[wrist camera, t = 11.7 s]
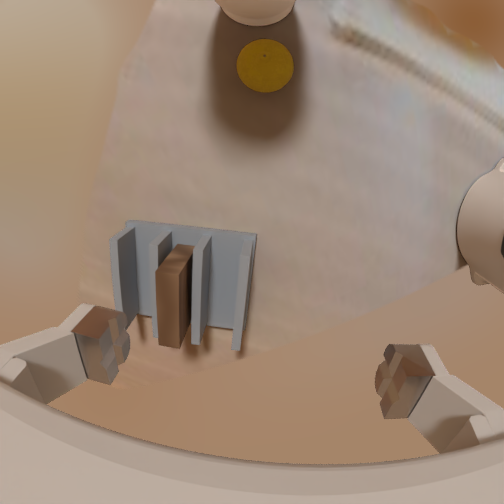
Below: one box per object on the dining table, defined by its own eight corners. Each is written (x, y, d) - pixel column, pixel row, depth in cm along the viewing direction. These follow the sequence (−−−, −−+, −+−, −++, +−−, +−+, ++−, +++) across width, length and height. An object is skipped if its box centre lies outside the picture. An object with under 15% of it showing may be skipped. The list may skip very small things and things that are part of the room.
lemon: (296, 91, 30) (304, 77, 23) (247, 102, 31) (240, 92, 24) (283, 47, 29) (287, 23, 21) (234, 58, 29) (225, 37, 22)
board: (196, 246, 36) (178, 274, 29) (194, 311, 40) (179, 348, 32) (177, 243, 36) (155, 271, 29) (177, 308, 40) (158, 344, 32)
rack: (256, 233, 37) (254, 252, 31) (245, 326, 41) (242, 354, 36) (128, 219, 37) (106, 234, 31) (133, 308, 41) (116, 332, 36)
